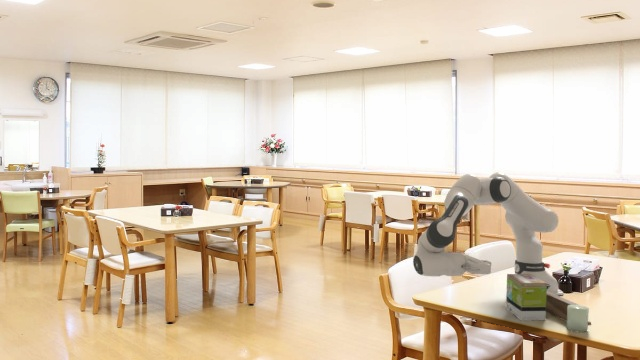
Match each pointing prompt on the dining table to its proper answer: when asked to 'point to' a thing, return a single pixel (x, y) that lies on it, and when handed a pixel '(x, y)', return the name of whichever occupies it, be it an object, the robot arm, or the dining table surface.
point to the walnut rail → (558, 306)
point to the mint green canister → (577, 318)
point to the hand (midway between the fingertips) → (489, 263)
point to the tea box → (526, 296)
